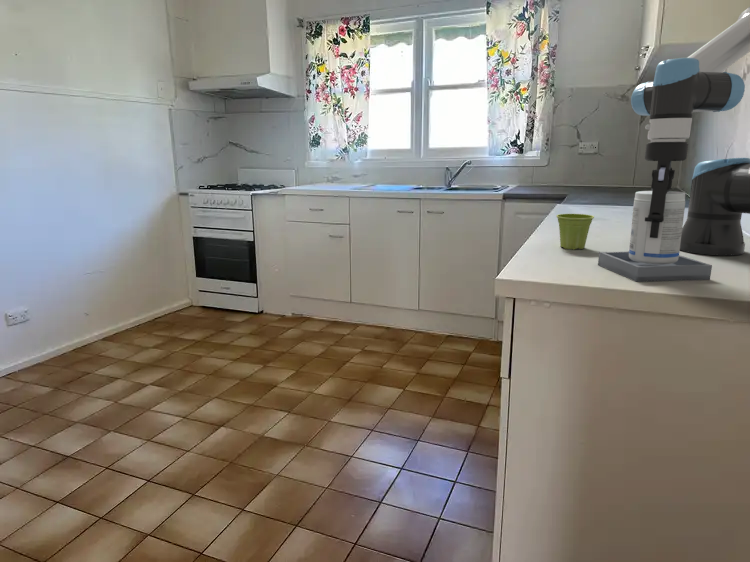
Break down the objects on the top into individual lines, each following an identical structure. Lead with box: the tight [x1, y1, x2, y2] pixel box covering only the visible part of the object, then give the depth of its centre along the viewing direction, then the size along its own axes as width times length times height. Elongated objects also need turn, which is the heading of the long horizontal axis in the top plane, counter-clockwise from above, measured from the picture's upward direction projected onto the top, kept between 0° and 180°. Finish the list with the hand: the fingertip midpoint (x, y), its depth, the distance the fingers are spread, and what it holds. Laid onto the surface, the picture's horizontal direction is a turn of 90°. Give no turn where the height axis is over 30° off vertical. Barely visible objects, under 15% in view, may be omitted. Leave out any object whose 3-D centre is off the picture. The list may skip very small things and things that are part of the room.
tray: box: [597, 250, 713, 283], centre depth 111 cm, size 16×16×3 cm
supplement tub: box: [628, 190, 686, 265], centre depth 109 cm, size 10×10×15 cm
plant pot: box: [556, 213, 595, 250], centre depth 138 cm, size 9×9×9 cm
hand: (653, 249), depth 110 cm, fingers closed on supplement tub, 9 cm apart
